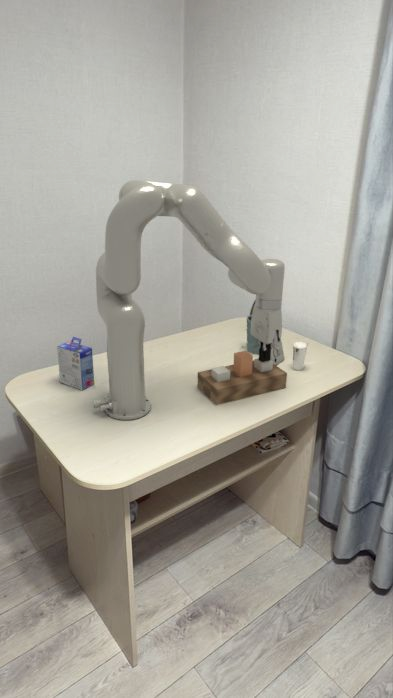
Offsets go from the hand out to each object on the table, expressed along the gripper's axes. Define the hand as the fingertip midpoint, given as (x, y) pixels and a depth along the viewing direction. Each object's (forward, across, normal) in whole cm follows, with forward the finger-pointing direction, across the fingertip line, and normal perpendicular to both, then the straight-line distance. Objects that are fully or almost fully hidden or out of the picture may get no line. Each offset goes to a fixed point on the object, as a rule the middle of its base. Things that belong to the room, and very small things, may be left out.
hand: (264, 360), depth 143 cm
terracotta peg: (+3, 0, -8) cm, 8 cm away
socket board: (+8, 0, -8) cm, 11 cm away
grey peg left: (+6, 0, -15) cm, 17 cm away
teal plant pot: (+8, -22, +13) cm, 27 cm away
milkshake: (+8, -3, +16) cm, 18 cm away
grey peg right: (+6, 0, 0) cm, 7 cm away
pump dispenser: (+8, -37, +24) cm, 45 cm away
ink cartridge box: (+8, -24, -52) cm, 57 cm away
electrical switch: (+8, -11, +11) cm, 18 cm away
